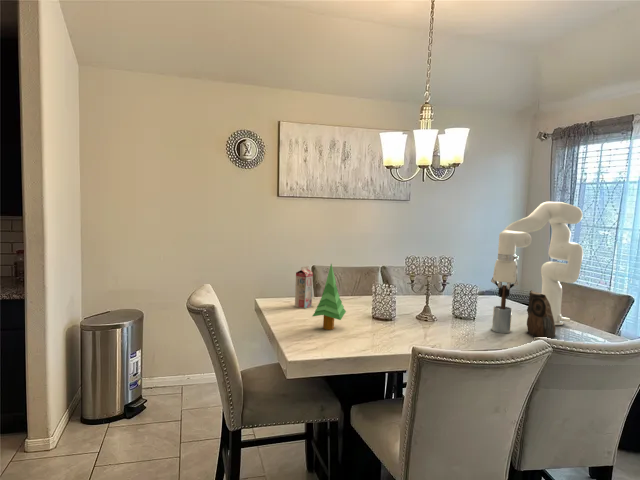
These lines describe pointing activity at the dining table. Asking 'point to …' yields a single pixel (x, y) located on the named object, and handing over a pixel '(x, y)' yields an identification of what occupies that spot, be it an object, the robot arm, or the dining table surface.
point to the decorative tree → (330, 303)
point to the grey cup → (501, 319)
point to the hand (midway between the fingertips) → (503, 296)
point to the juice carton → (303, 288)
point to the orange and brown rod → (503, 297)
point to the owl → (540, 316)
